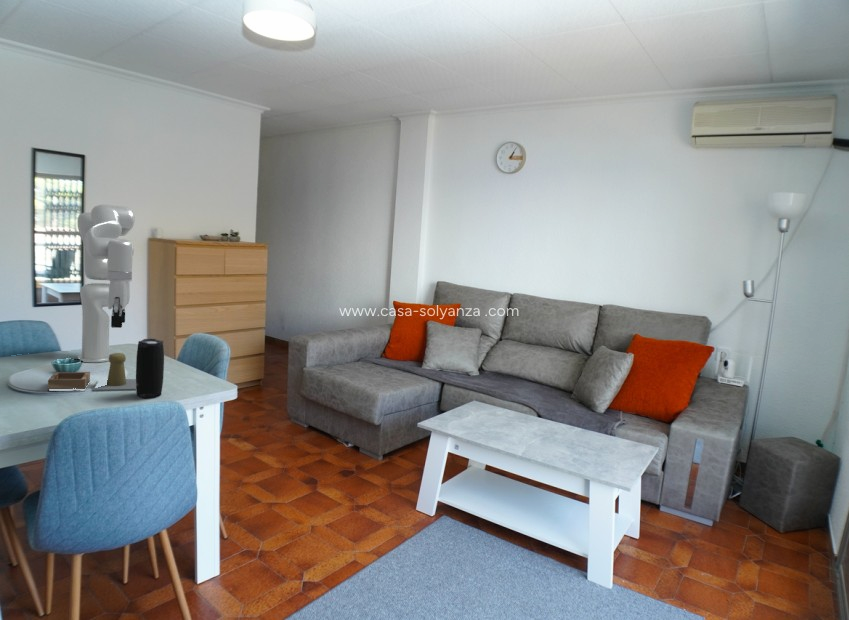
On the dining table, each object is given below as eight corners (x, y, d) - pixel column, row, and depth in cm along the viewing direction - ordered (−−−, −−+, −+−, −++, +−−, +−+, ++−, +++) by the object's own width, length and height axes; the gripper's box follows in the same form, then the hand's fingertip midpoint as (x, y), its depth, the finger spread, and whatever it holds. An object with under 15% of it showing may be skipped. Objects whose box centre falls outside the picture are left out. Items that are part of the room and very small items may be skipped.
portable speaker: (136, 400, 178) (138, 343, 176) (134, 392, 186) (135, 338, 184) (164, 398, 183) (166, 342, 180) (161, 390, 190) (162, 337, 188)
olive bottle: (103, 383, 190) (103, 353, 189) (119, 380, 196) (120, 350, 194) (113, 387, 188) (114, 356, 186) (130, 384, 193) (130, 353, 192)
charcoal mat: (98, 381, 195) (98, 379, 195) (138, 380, 200) (138, 379, 200) (92, 391, 183) (92, 389, 183) (135, 390, 188) (135, 388, 188)
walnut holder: (54, 383, 188) (55, 372, 187) (89, 383, 192) (90, 372, 191) (47, 392, 178) (48, 380, 178) (84, 391, 182) (84, 379, 182)
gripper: (110, 273, 193) (109, 320, 195) (103, 278, 178) (102, 329, 180) (134, 274, 196) (132, 321, 199) (129, 279, 181) (127, 329, 183)
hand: (118, 324), depth 189 cm, fingers open, 9 cm apart
